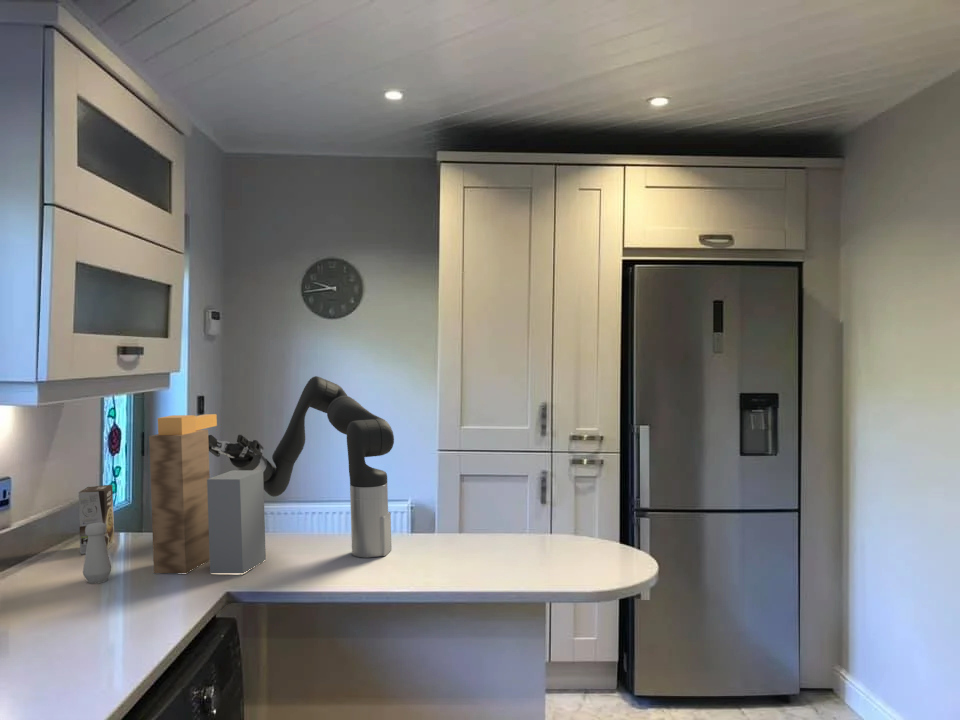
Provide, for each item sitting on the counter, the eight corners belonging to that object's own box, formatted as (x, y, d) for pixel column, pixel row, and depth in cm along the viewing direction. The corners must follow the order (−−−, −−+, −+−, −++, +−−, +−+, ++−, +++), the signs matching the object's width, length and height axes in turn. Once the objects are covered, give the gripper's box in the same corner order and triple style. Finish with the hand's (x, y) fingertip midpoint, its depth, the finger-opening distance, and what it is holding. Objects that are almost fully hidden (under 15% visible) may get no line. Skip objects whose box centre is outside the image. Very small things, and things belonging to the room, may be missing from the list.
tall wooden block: (212, 559, 183) (208, 429, 182) (185, 574, 171) (181, 435, 171) (182, 558, 184) (177, 430, 184) (153, 573, 172) (149, 436, 172)
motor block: (265, 560, 181) (263, 470, 181) (242, 575, 169) (239, 479, 169) (235, 559, 182) (232, 470, 182) (210, 574, 170) (207, 479, 170)
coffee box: (106, 552, 192) (104, 490, 191) (79, 554, 190) (77, 492, 190) (115, 543, 201) (113, 484, 200) (89, 545, 199) (87, 485, 199)
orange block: (222, 425, 192) (221, 410, 191) (182, 434, 173) (181, 417, 173) (200, 425, 192) (200, 410, 192) (158, 435, 174) (157, 417, 174)
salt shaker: (84, 579, 169) (82, 522, 169) (112, 575, 172) (110, 519, 172) (82, 586, 164) (80, 527, 164) (111, 582, 167) (109, 524, 166)
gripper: (228, 448, 215) (202, 425, 201) (274, 447, 213) (251, 424, 199) (222, 472, 211) (195, 451, 197) (269, 472, 209) (245, 450, 195)
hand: (223, 437), depth 198 cm, fingers open, 8 cm apart
